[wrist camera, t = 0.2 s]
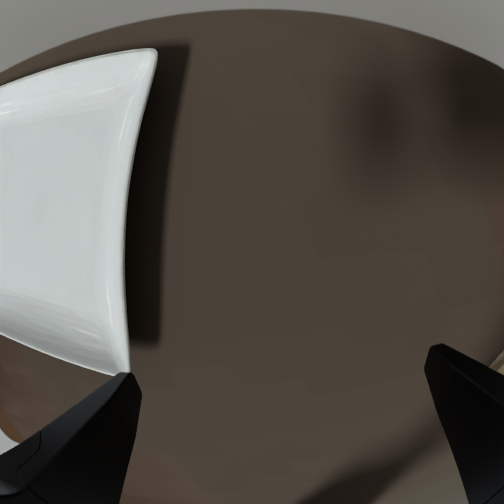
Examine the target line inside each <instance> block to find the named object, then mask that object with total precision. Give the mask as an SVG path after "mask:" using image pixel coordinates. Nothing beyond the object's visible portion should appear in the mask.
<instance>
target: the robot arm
mask: <svg viewBox="0 0 504 504" xmlns="http://www.w3.org/2000/svg"><path fill="white" fill-rule="evenodd" d="M424 371H425V375H426V378H427V381H428V384H429V388H430V391H431V394H432V398H433V401H434V405H435V408H436V411H437V414H438V416H439V419H440V421H441V424H442V426H443V429H444V431H445V434H446V437H447V439H448V442H449V444H450V447H451V450H452V453H453V455H454V458H455V461H456V464H457V467H458V470H459V473H460V476H461V479H462V482H463V485H464V489H465V492H466V495H467V499H468V502H469V504H504V375H503V374H501V373H499V372H497V371H495V370H493V369H491V368H489V367H487V366H486V365H484V364H482V363H480V362H478V361H476V360H474V359H472V358H470V357H468V356H466V355H464V354H462V353H461V352H459V351H457V350H455V349H453V348H451V347H449V346H447V345H445V344H442V343H441V344H437V345H433V346H431V347H430V349H429V352H428V356H427V359H426V363H425V367H424ZM141 400H142V392H141V389H140V387H139V385H138V383H137V381H136V378H135V376H134V375H133V374H132V373H131V372H119V373H118V374H116V375H115V376H114V377H112V378H111V379H109V380H108V381H107V382H105V383H104V384H103V385H101V386H100V387H99V388H97V389H96V390H95V391H93V392H92V393H90V394H89V395H88V396H86V397H85V398H84V399H82V400H81V401H80V402H78V403H77V404H75V405H74V406H73V407H71V408H70V409H69V410H67V411H66V412H64V413H63V414H62V415H60V416H59V417H58V418H56V419H55V420H53V421H52V422H51V423H49V424H48V425H46V426H45V427H44V428H42V431H41V430H39V431H38V432H37V433H35V434H34V435H32V436H31V437H29V438H28V439H26V440H25V441H23V442H22V443H20V444H19V445H17V446H15V447H14V448H12V449H10V450H9V451H7V452H5V453H3V454H1V455H0V504H119V502H120V497H121V493H122V489H123V485H124V480H125V476H126V472H127V468H128V464H129V461H130V457H131V453H132V449H133V445H134V442H135V437H136V432H137V425H138V419H139V412H140V406H141Z"/></svg>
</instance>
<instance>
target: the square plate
mask: <svg viewBox="0 0 504 504" xmlns="http://www.w3.org/2000/svg"><path fill="white" fill-rule="evenodd" d="M157 59H158V52H157V50H155V49H153V48H143V49H134V50H127V51H121V52H115V53H110V54H105V55H100V56H96V57H91V58H87V59H83V60H79V61H75V62H71V63H67V64H64V65H60V66H57V67H54V68H51V69H47V70H44V71H41V72H38V73H35V74H32V75H29V76H26V77H23V78H21V79H18V80H15V81H13V82H10V83H7V84H5V85H2V86H0V334H1V335H4V336H6V337H8V338H10V339H13V340H15V341H17V342H19V343H22V344H24V345H26V346H29V347H31V348H33V349H36V350H38V351H41V352H43V353H46V354H48V355H51V356H54V357H56V358H59V359H62V360H64V361H67V362H70V363H73V364H76V365H79V366H82V367H85V368H88V369H91V370H95V371H98V372H101V373H105V374H108V375H112V376H115V375H116V374H118V373H119V372H130V366H131V364H130V346H129V334H128V322H127V309H126V290H125V232H126V214H127V203H128V194H129V186H130V179H131V173H132V167H133V161H134V155H135V150H136V145H137V140H138V135H139V131H140V126H141V122H142V118H143V114H144V110H145V107H146V103H147V99H148V96H149V92H150V89H151V85H152V81H153V77H154V74H155V70H156V66H157Z"/></svg>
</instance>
